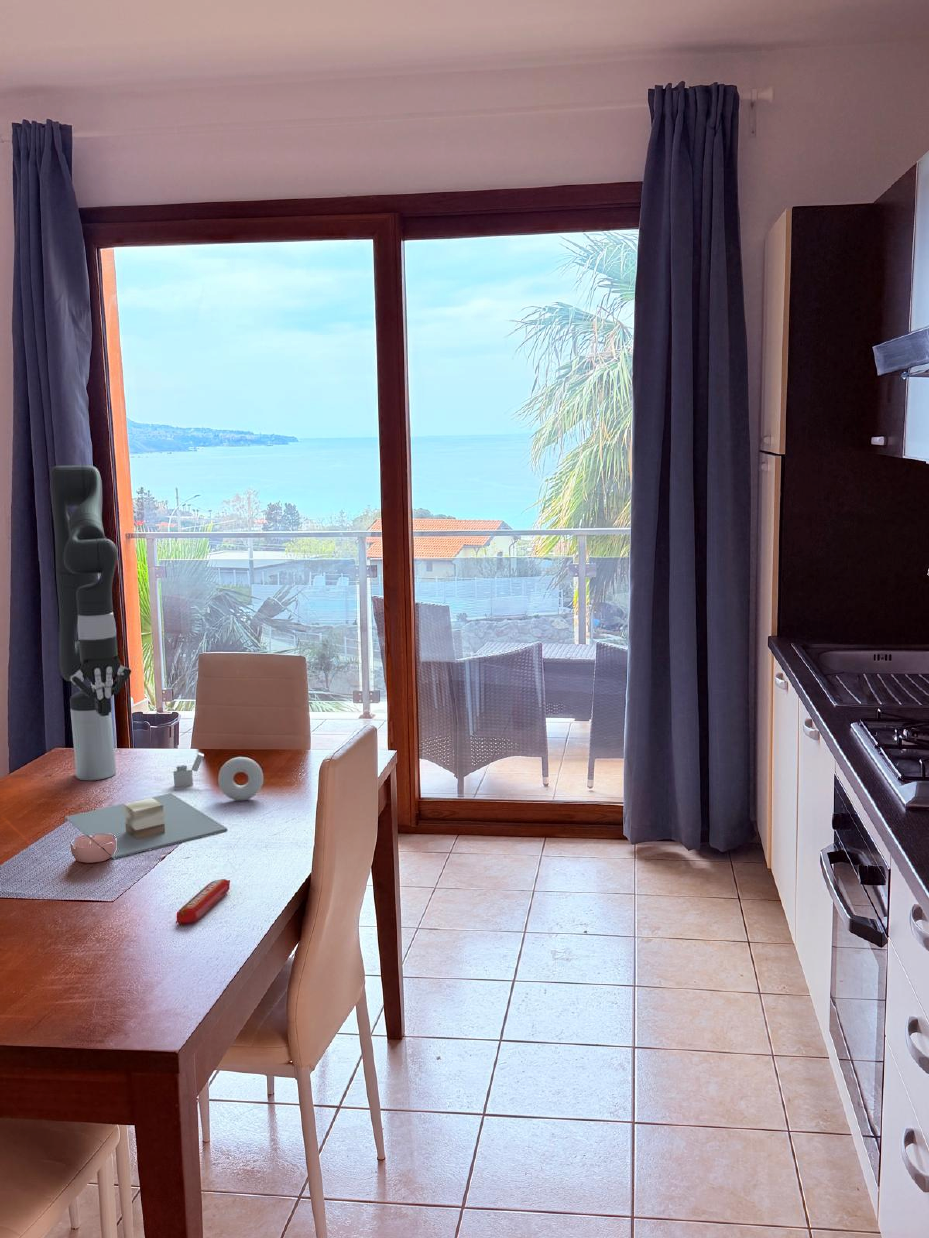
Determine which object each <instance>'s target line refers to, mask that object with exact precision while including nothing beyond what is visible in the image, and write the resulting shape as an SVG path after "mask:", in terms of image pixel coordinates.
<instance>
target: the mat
mask: <svg viewBox="0 0 929 1238" xmlns="http://www.w3.org/2000/svg"><path fill="white" fill-rule="evenodd" d="M148 798H149V797H148ZM148 798H146V799H148ZM150 798H153V799H155V800H156V801H158V802H159V803H161V804H162V805H163V811H164V825H165V833H163V834H159V835H155V836H150V837H146V838H142V839H138V840H136V839H135V838H134V837H132V836H131V835H130V834H128V833H127V832H126V825H125V813H124V804H126V803H127V802H125V803H120V804H115V805H112V806H107V807H102V808H98V809H94V810H90V811H85V812H81V813H77V814H76V813H75V814H72V815H67V816H64V818H65V819H66V820H67V821H68V822H69V823H71V824H72V825H73V826H75V827H76V828H77V829H78V830H79V831H80V832H82V834H84V836H87V835H94V834H96V833H111V834H113V835H115V836H116V838H117V850H116V852H115V854H114V855H113V859H112V860H116V858H117V859H120V858H119V857H121V858H125V857H128V856H127V855H129V856H132V854H133V855H136V854H135V853H137V854H139V853H138V852H141V853H143V852H142V851H145V852H147V851H146V850H149V849H153V850H156V849H160V848H164V847H167V846H166V845H168V846H172V845H176V844H180V843H183V842H188V841H191V840H195V839H201V838H204V837H208V836H211V835H215V834H219V833H224V832H227V831H228V828H227V827H226V826H224V825H222V824H221V823H219V822H218V821H217V820H214V819H213V818H211V817H210V816H208V815H206V814H205V813H204V812H203V811H200V810H198V809H197V808H195V807H194V806H192V805H191V804H189V803H187V802H186V801H184V800H183V799H181V798H179V797H177V795H174V794H173V793H171V792H170V793H166V794H161V795H156V796H152V797H150ZM144 799H145V798H142V799H141V800H144ZM139 800H140V799H138V800H137V801H139ZM135 801H136V800H135ZM135 801H130V802H129V801H128V803H131V802H135ZM179 842H180V843H179ZM163 846H164V847H163ZM149 851H150V850H149ZM124 856H125V857H124ZM114 858H115V859H114Z"/></svg>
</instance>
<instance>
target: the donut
mask: <svg viewBox="0 0 929 1238" xmlns="http://www.w3.org/2000/svg"><path fill="white" fill-rule="evenodd" d="M237 773H244V774H245V775H247V778H248V780H247V782H246V783H245V784H243V785H239V784H237V783H236V782H235V780H234V777H235V775H236V774H237ZM217 782H218V787H219V788H220V790H221V792H222V794H224V795H225V796H226V797H227V798H229V799H231V800H234V801H241V802H242V801H247V800H250V799H252V798H254V797H255V796H256V795H257V794H258V793H259V792H260V791H261V788H262V786H263V785H264V773H263V770H262V768H261V766H260V765H259V764H258V763H257V762H256V761H255V760H254V759H251V758H249V757H246V756H245V757H244V756H237V757H233V758H232V757H231V759H229V760H228V761H226V762H225V763H224V764H223V765H222V766H221V767H220V770H219V772H218V779H217Z"/></svg>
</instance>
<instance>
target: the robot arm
mask: <svg viewBox="0 0 929 1238" xmlns="http://www.w3.org/2000/svg"><path fill="white" fill-rule="evenodd" d="M49 493H50V500H51V508H52V519H53V527H54V537H55V538H54V539H55V542H54V543H55V544H54V545H55V576H56V577H55V578H56V589H57V600H58V601H57V602H58V613H59V617H58V618H59V636H58V637H59V639H58V640H59V641H58V642H59V647H58V651H59V652H58V655H59V659H58V660H59V669H60V673H61V676H62V678H63V679H64V680H65V681H66V682H71V683H72V684H73V685H74V686H75V687H77V689H79V691H78V692H75V693H73V694H72V695H71V696H70V698H69V707H70V708H69V709H70V718H71V719H70V720H71V731H72V743H73V751H74V764H75V765H74V767H75V776H76V778H77V779H78V780H81V781H97V780H104V779H107V778H108V779H109V778H110V777H112V776H115V775H116V774H117V768H116V753H115V741H114V732H113V730H114V729H113V720H112V719H113V718H112V717H113V716H112V701H111V699H112V696H115V695H117V694H119V693H120V691H121V690H122V688H123V686H124V685H125V683H126V682H127V680H128V679H129V677H130V675H131V674H132V670H131V669H130V668H128V667H125V666H123V665H122V664H121V661H120V659H119V654H118V640H117V626H116V620H115V617H114V606H113V605H114V604H113V593H112V592H113V582H114V581H113V580H114V575H115V572H116V567H117V562H118V557H119V552H118V549H117V546H116V544H115V543H114V541H112V540H111V539H109V538H106V537H105V536H106V534H105V531H104V526H103V519H102V518H103V516H102V515H103V482H102V477H101V474H100V471H99V470H98V468H97V467H96V466H92V465H55V466H53V467H52V468H51V470H50V472H49ZM69 507H76V508H75V509H74V510H72V512H71V514H70V516H69V514H68V511H67V508H69ZM99 574H100V576H99ZM77 636H78V641H76V639H77ZM116 674H117V676H116ZM115 676H116V678H115V679H114V677H115ZM113 679H114V681H113ZM84 680H87V681H89V682H90V683H89V685H86V683H84ZM112 681H113V682H112Z"/></svg>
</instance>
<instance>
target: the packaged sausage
mask: <svg viewBox="0 0 929 1238" xmlns="http://www.w3.org/2000/svg"><path fill="white" fill-rule="evenodd" d="M230 885H231V879H230V880H229V879H228V880H227V878H225V879H224V878H221V879H216V880H212V881H211V882H209V883H208V884H207V885H205V886H204V887H202V889H201V890H200V891H199V892H198V893H196V894H195V895H194V896H193V897H191V899H190V900H189V901H187V902H186V903H185V904H184V905H183V906H181V908H180V909H179V910H178V911H177V912H176V921H175V922H174V923H175V925H176V924H179V925H184V924H185V925H187V924H190V923H195V922H197V921H198V920H199V919H200V918H202V916H204V915H205V914H206V913H207V912H208V911H209V910H210V909H211V908H213V906H214V905H216V903H218V902H219V901H220V900H221V899H222V898H223V897H224V896H225V895H226V894H227V893H228V892H229V890H230V888H231V887H230Z"/></svg>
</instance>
